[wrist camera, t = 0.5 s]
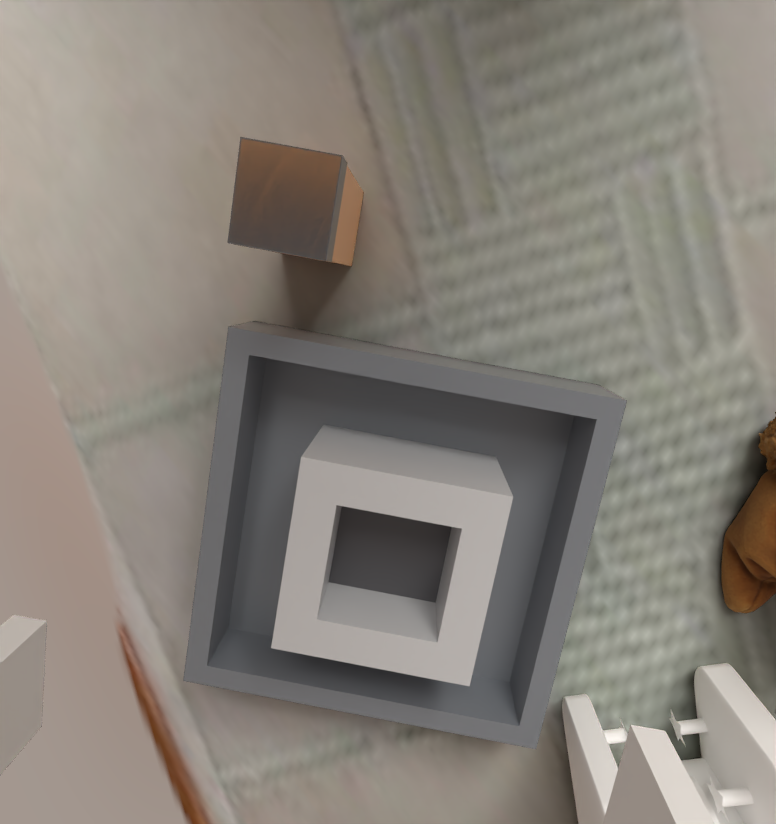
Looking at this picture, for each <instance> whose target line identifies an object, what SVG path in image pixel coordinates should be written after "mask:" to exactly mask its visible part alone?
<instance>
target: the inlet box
mask: <svg viewBox="0 0 776 824" xmlns="http://www.w3.org/2000/svg"><path fill="white" fill-rule="evenodd" d="M626 402H627V400H625V399H623V398H622V397H620V396H618V395H616V394H615V393H613V392H611V391H609V390H607V389H606V388H604V387H602V386H600V385H597V384H592V383H586V382H581V381H576V380H570V379H565V378H559V377H554V376H549V375H543V374H538V373H532V372H527V371H521V370H516V369H511V368H505V367H500V366H494V365H489V364H484V363H478V362H473V361H467V360H462V359H457V358H451V357H446V356H440V355H435V354H430V353H424V352H419V351H413V350H408V349H403V348H397V347H392V346H386V345H381V344H376V343H370V342H365V341H359V340H354V339H349V338H343V337H338V336H332V335H327V334H322V333H316V332H311V331H305V330H300V329H295V328H289V327H284V326H278V325H273V324H268V323H262V322H257V321H252V322H248V323H243V324H239V325H234V326H229V327H228V335H227V343H226V351H225V358H224V366H223V374H222V382H221V390H220V398H219V405H218V413H217V421H216V429H215V437H214V444H213V452H212V460H211V468H210V476H209V484H208V491H207V499H206V507H205V515H204V523H203V531H202V538H201V546H200V554H199V562H198V570H197V578H196V585H195V593H194V601H193V609H192V617H191V625H190V632H189V640H188V648H187V656H186V664H185V671H184V679H183V681H187V682H192V683H197V684H202V685H207V686H213V687H218V688H223V689H228V690H233V691H238V692H244V693H249V694H254V695H259V696H264V697H269V698H274V699H280V700H285V701H290V702H295V703H300V704H305V705H311V706H316V707H321V708H326V709H331V710H336V711H341V712H347V713H352V714H357V715H362V716H367V717H372V718H378V719H383V720H388V721H393V722H398V723H403V724H409V725H414V726H419V727H424V728H429V729H434V730H439V731H445V732H450V733H455V734H460V735H465V736H470V737H476V738H481V739H486V740H491V741H496V742H501V743H507V744H512V745H517V746H522V747H527V748H532V749H536V747H537V744H538V740H539V736H540V732H541V728H542V724H543V721H544V717H545V713H546V709H547V705H548V701H549V698H550V694H551V690H552V686H553V682H554V678H555V675H556V671H557V667H558V663H559V659H560V655H561V652H562V648H563V644H564V640H565V636H566V632H567V629H568V625H569V621H570V617H571V613H572V609H573V606H574V602H575V598H576V594H577V590H578V586H579V582H580V579H581V575H582V571H583V567H584V563H585V559H586V556H587V552H588V548H589V544H590V540H591V536H592V533H593V529H594V525H595V521H596V517H597V513H598V510H599V506H600V502H601V498H602V494H603V490H604V487H605V483H606V479H607V475H608V471H609V467H610V464H611V460H612V456H613V452H614V448H615V444H616V441H617V437H618V433H619V429H620V425H621V421H622V418H623V414H624V410H625V406H626Z"/></svg>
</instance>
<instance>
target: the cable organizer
mask: <svg viewBox="0 0 776 824" xmlns="http://www.w3.org/2000/svg"><path fill="white" fill-rule="evenodd" d="M694 689H695V699H696V709H697V719H692V720H683V721H676V720H675V717H674V715H673V713H672V710H671V715H672V718H669V719H670V721H671V723H672V725H673V727H674V730H675V733H676V736H677V739H678V741H679V738H680V739H681V740H682V742H683V743H684V741H683V738H682V735H688V734H696V733H699V738H700V748H701V757H702V758H699V759H690V760H682V761H681V762H682V763H683V765H684V767H685V769H686V771H687V773H688V775H689V777H690V779H691V780H692V782H693V784H694V786H695V788H696V790H697V792H698V794H699V796H700V797H701V799H702V801H703V803H704V805H705V807H706V809H707V811H708V813H709V814H710V816H711V818H712V820H713V822H714V824H776V720H775V718H774V717H773V716H772V715H771V714H770V712H769V711H768V710H767V709H766V707H765V706H764V705H763V704H762V703H761V701H760V700H759V699H758V698H757V696H756V695H755V694H754V693H753V691H752V690H751V689H750V688H749V687H748V685H747V684H746V683H745V682H744V680H743V679H742V678H741V677H740V676H739V674H738V673H737V672H736V671H735V669H734V668H733V667H732V666H731V665H730V664H728V663H721V664H713V665H706V666H699V667H697V669H696V671H695V676H694ZM670 709H671V708H670ZM562 712H563V722H564V729H565V735H566V742H567V749H568V756H569V763H570V769H571V776H572V783H573V790H574V797H575V803H576V810H577V817H578V824H603V821H604V817H605V814H606V810H607V807H608V803H609V799H610V796H611V792H612V789H613V785H614V782H615V778H616V775H617V771H618V767H617V764H616V762H615V759H614V757H613V754H612V752H611V749H610V747H609V744H613V743H622V742H625V743H626V739H627V736H628V733H627V732H626V730H625V727H624V725H623V722H622V720H621V718H620V720H621V726H622V727H621V726H620V728H618V729H610V730H602V727H601V725H600V722H599V720H598V717H597V715H596V713H595V710H594V708H593V705H592V703H591V700H590V698H589V697H588V695H587V694H580V695H572V696H565V697H563V701H562ZM684 745H685V743H684ZM685 747H686V746H685Z"/></svg>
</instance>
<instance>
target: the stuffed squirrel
mask: <svg viewBox="0 0 776 824" xmlns="http://www.w3.org/2000/svg"><path fill="white" fill-rule="evenodd" d="M775 413H776V412H775ZM759 436H760V444H759V447H758V448H760V450H761V452H760V453H761V454H762V455H764V456H765V457H766V459H767V463H766V466H767V469H768V471H767V472H766V473H764V474H763V475H762V477H761V478H760V480H759V482H758V484H757V485H756V487H755V488H754V490H753V491H752V493H751V494H750V496H749V498H748V499H747V501H746V502H745V504H744V506H743V507H742V509H741V511H740V512H739V513H738V515H737V516H736V518H735V519H734V521H733V523H732V524H731V525H730V526H729V527H728V529H727V531H726V533H725V538H724V544H723V552H722V567H721V571H722V575H721V580H722V588H723V593H724V600H725V603H726V605H727V606H728V608H730V609H731V610H733V611H734V612H741V613H749V612H752V611H755V610H756V609H758V608H759V607H760V606H762V605H763V604H764V603H765V602H766V601H768V600H769V599H770V598H771V597H772V596H773V595H774V594H775V593H776V417H775V419H773V421H770V422H769V423H768V428H766V430H764V432H763V433H762V434H760V433H759Z"/></svg>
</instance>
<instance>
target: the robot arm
mask: <svg viewBox="0 0 776 824" xmlns="http://www.w3.org/2000/svg"><path fill="white" fill-rule="evenodd" d="M46 630H47V621H46V620H40V619H35V618H29V617H23V616H18V615H13V616H12V617H10V618H9V619H8V620H7V621H5V622H4V623H3V624H2V625H1V626H0V775H1V774H2V773H3V772H4V770H5V769H6V768H7V767H8V766H9V764H10V763H11V762H12V761H13V760H14V759H15V758H16V756H17V755H18V754H19V753H20V752H21V750H22V749H23V748H24V747H25V746H26V744H27V743H28V742H29V741H30V740H31V738H32V737H33V736H34V735H35V734H36V733H37V731H38V730H39V729H40V728H41V727H42V711H43V691H44V670H45V651H46ZM603 824H714V822H713V820H712V818H711V816H710V814H709V813H708V811H707V809H706V807H705V805H704V803H703V801H702V799H701V797H700V796H699V794H698V792H697V790H696V788H695V786H694V784H693V782H692V780H691V779H690V777H689V775H688V773H687V771H686V769H685V767H684V765H683V763H682V762H681V760H680V758H679V756H678V754H677V752H676V750H675V748H674V746H673V745H672V743H671V741H670V739H669V737H668V735H667V733H666V731H663V730H658V729H652V728H646V727H641V726H635V725H630V728H629V732H628V736H627V739H626V743H625V746H624V750H623V753H622V757H621V760H620V764H619V767H618V771H617V775H616V778H615V782H614V785H613V789H612V792H611V796H610V799H609V803H608V807H607V810H606V814H605V817H604V821H603Z"/></svg>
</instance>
